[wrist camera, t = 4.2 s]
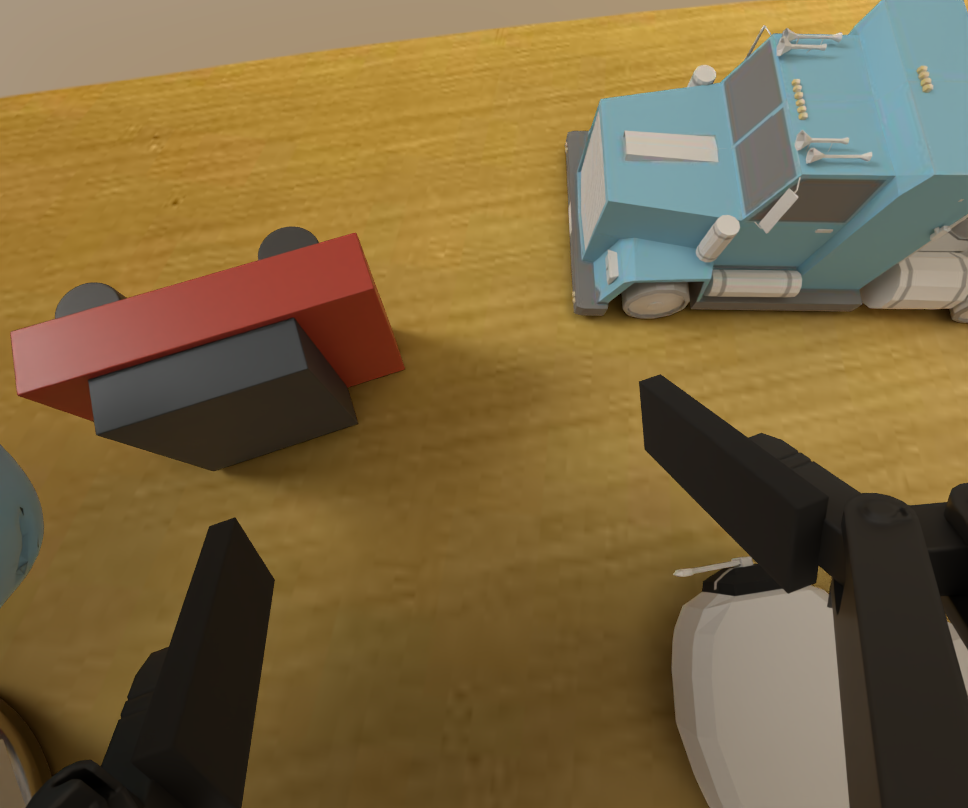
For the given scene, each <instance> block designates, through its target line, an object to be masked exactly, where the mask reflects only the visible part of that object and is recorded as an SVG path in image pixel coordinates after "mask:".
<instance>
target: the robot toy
mask: <svg viewBox="0 0 968 808" xmlns="http://www.w3.org/2000/svg"><path fill="white" fill-rule="evenodd" d="M732 566H733V567H732ZM727 567H728V568H727ZM722 568H723V569H722ZM716 569H721V570H720V571H718V572H717V573H715V574H714V575H712V576H710V577H709V578H707V579H706V580H704V581H703V588H702V592H701V593H700V594H698V595H697V596H695V597H694V598H693V599H691V600H690V601H688V602H687V603H686V604H684V605H683V606H682V609H681V612H680V614H679V617H678V620H677V623H676V625H675V628H674V635H673V642H672V679H673V692H674V705H675V718H676V724H677V727H678V730H679V733H680V736H681V739H682V741H683V744H684V747H685V750H686V753H687V756H688V759H689V762H690V764H691V767H692V770H693V773H694V776H695V778H696V780H697V782H698V785H699V787H700V789H701V791H702V793H703V795H704V797H705V800H706V802H707V804H708V806H709V807H710V808H850V806H849V795H848V783H847V772H846V760H845V748H844V737H843V725H842V713H841V702H840V690H839V679H838V667H837V655H836V644H835V632H834V621H833V609H832V608H829V607H827V604H828V598H829V594H828V593H827V592H826V591H825V590H823V589H820V588H816V587H813V586H810V585H809V586H807V587H804V588H802V589H799V590H797V591H794V592H792V593H789V594H787V593H786V592H785V591H784V590H783V588H782V587H781V586H780V585H779V584H778V583H777V582H776V581H775V580H774V579H773V578H772V577H771V576H770V575H769V574H768V573H767V572H766V571H765V570H764V569H763V568H762V567H761V566H760V565H759V564H753V562H752V558H751V557H739V558H733V559H732V561H730V562H724V563H719V564H713V565H708V566H702V567H697V568H685V569H680V570H676V571H675V573H674V574H673V575H675V576H677V577H685V576H690V575H693V574H695V573H700V572H706V571H711V570H716ZM947 623H948V626H949V630H950V633H951V637H952V641H953V644H954V648H955V651H956V655H957V659H958V662H959V666H960V670H961V673H962V677H963V680H964V684H965V688H966V691H967V695H968V650H967V648H966V646H965V645H964V643H963V641H962V640H961V638H960V637H959V635H958V633H957V632H956V630H955V628H954V627H953V625H952V624H951V623H949V622H947Z"/></svg>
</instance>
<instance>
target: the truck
mask: <svg viewBox="0 0 968 808" xmlns="http://www.w3.org/2000/svg"><path fill="white" fill-rule="evenodd" d="M765 28H766V26H765V25H763V27H762V29H761V31H760V33H759V34H758V36H757V38H756V40H755V42H754V44H753V45H752V47H751V49H750V51H749V53H748V55H747V56H746V58H745V60H744V61H743V62H742V63H741V64H740V65H739V66H738V67H737V68H735V69H734V70H733V71H732V72H731V73H730V74H729V75H728V76H727V77H726V78H724V79H723V80H722V81H721V82H720V83H715V84H713V82H714V80H715V78H716V72H715V70H714V69H713V68H712V67H710V66H708V65H701V66H698V67H697V68H696V70H695V71H694V73H693V75H692V77H691V80H690V82H689V84H688V86H687V87H686V88H679V89H671V90H664V91H657V92H649V93H642V94H634V95H627V96H620V97H612V98H605V99H600V102H599V105H598V108H597V111H596V114H595V117H594V120H593V123H592V126H591V129H590V130H589V131H572V132H568V134H567V139H566V143H565V153H566V164H567V185H568V207H569V208H568V210H569V228H570V247H571V266H572V285H573V293H572V297H573V299H572V300H573V304H574V313H575V314H578V315H598V316H603V315H604V314H605V312H606V311H607V309H608V303H609V302H610V301H611V300H612V299H614V298H615V297H616V296H618V295H619V294H620V293H621V294H622V307H623V310H624V311H625V313H626V314H627V315H629V316H632V317H636V318H639V319H642V318H659V317H664V316H668V315H672V314H674V313H676V312H678V311H680V310H682V309H684V308H685V307H686V305H687V304H688V303H689V301H690V309H714V310H785V311H853V310H854V309H856V308H857V307H859V306H861V305H862V302H863V303H864V304H865V305H866V306H868V307H869V308H876V309H949V310H950V314H951V318H952V320H955V321H957V322H959V323H968V12H967V9H966V6H965V3H964V0H881V1H880V2H879V3H878V4H877V5H876V6H875V7H874V8H873V9H872V10H871V11H870V12H869V13H868V14H867V15H866V16H865V17H864V18H863V19H862V20H861V21H860V22H859V23H858V24H857V25H855V26H854V28H853V29H852V30H851V32H850V33H849V34H848V35H842V32H840V33H837V34H835V35H824V34H796V33H794V32H792V31H791V30H789V29H788V28H786V29H785V30H784V31H783V33H782V34H773V35H771V33H770V32H769V30H768V29H767V28H766V30H767V31H768V32H769V34H770V35H771V36H770V37H769V38H768V39H767V40H766V41H765V42H764V43H763V44H762V45H761V46H760V47H758V48H757V49H756V50H755V51H754V52H753V53H752V54H751V52H752V51H753V49H754V47H755V45H756V43H757V41H758V40H759V38H760V36H761V34H762V32H763V30H764V29H765ZM750 54H751V55H750ZM688 285H689V287H688Z"/></svg>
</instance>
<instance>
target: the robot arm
mask: <svg viewBox="0 0 968 808" xmlns="http://www.w3.org/2000/svg"><path fill="white" fill-rule="evenodd" d="M639 387H640V399H641V411H642V423H643V435H644V447H645V450H646V451H647V452H648V453H649V454H650V455H651V456H652V457H653V458H654V459H655V460H656V461H657V462H658V463H659V464H660V465H661V466H662V467H663V468H664V469H665V470H666V471H667V472H668V473H669V474H670V475H671V476H672V477H673V478H674V479H675V480H676V482H677V483H678V484H679V485H680V486H681V487H682V488H683V489H684V490H685V491H686V492H687V493H688V494H689V495H690V496H691V497H692V498H693V499H694V500H695V501H696V502H697V503H698V504H699V505H700V506H701V507H702V508H703V509H704V510H705V511H706V512H707V513H708V514H709V515H710V516H711V517H712V518H713V519H714V520H715V521H716V522H717V523H718V524H719V525H720V526H721V527H722V528H723V529H724V530H725V531H726V532H727V533H728V534H729V535H730V536H731V537H732V538H733V539H734V540H735V541H736V542H737V543H738V544H739V545H740V546H741V547H742V548H743V549H744V550H745V551H746V552H747V553H748V554H749V555H750V556H751V557H752V558H753V559H754V560H755V561H756V562H757V563H758V564H759V565H760V566H761V567H762V568H763V569H764V570H765V571H766V572H767V573H768V574H769V575H770V576H771V577H772V578H773V579H774V580H775V581H776V582H777V583H778V584H779V585H780V586H781V587H782V588H783V590H784V591H785V592H786V593H787V594H789V593H792V592H794V591H797V590H799V589H802V588H804V587H807V586H809V585H812V584H814V583H816V580H817V573H818V566H820V567H821V568H822V569H824V570H825V571H826V572H827V573H828V574H829V575H830V576H832V580H831V586H830V592H829V598H828V604H827V607H829V608H832V609H833V621H834V632H835V644H836V655H837V667H838V679H839V690H840V702H841V713H842V725H843V737H844V748H845V760H846V772H847V783H848V795H849V806H850V808H968V695H967V691H966V688H965V684H964V680H963V677H962V673H961V670H960V666H959V662H958V659H957V655H956V651H955V648H954V644H953V641H952V637H951V633H950V630H949V626H948V623H947V619H946V615H947V617H948V619H949V620H950V622H951V624H952V625H953V627H954V628H955V630H956V632H957V633H958V635H959V637H960V638H961V640H962V641H963V643H964V645H965V646H966V648H967V650H968V483H964V484H959V485H958V486H956V487H954V488H952V490H951V493H950V495H949V499H948V502H944V503H932V504H921V505H907V504H906V503H904V502H903V501H901V500H898V499H896V498H894V497H891V496H888V495H883V494H878V493H860V492H858V491H857V490H855V489H854V488H852V487H851V486H849V485H848V484H846V483H845V482H843V481H842V480H840V479H839V478H838V477H836V476H835V475H833V474H832V473H830V472H829V471H827V470H826V469H824V468H823V467H821V466H820V465H818V464H817V463H815V462H814V461H813V462H811V460H810V459H809V458H808V457H806V456H805V455H803V454H802V453H798V450H796V449H795V448H793V447H792V446H790V445H789V444H787V443H786V442H784V441H783V440H781V439H778V438H775V437H772V436H769V435H766V434H763V433H760V434H757V435H755V436H752V437H749V438H747V437H746V436H745V435H743V434H742V433H741V432H739V431H738V430H736V429H735V428H734V427H732V426H731V425H730V424H728V423H727V422H725V421H724V420H723V419H721V418H720V417H719V416H717V415H716V414H714V413H713V412H712V411H710V410H709V409H708V408H706V407H705V406H703V405H702V404H701V403H699V402H698V401H697V400H695V399H694V398H692V397H691V396H690V395H688V394H687V393H686V392H684V391H683V390H681V389H680V388H679V387H677V386H676V385H674V384H673V383H672V382H670V381H669V380H668V379H666V378H665V377H663V376H662V375H661V374H660V375H657V376H654V377H651V378H648V379H645V380H642V381H639ZM43 534H44V521H43V513H42V508H41V504H40V501H39V498H38V496H37V493H36V491H35V489H34V487H33V485H32V484H31V482H30V480H29V479H28V477H27V476H26V474H25V473H24V471H23V470H22V469H21V467H20V466H19V465H18V464H17V462H16V461H15V460H14V459H13V457H12V456H11V455H10V454H9V453H8V452H7V451H6V450H5V449H4V448H3V447H2V446H1V445H0V608H1V607H2V605H3V604H4V603H5V602H6V600H7V599H8V598H9V597H10V596H11V594H12V593H13V592H14V591H15V590H16V588H17V587H18V586H19V585H20V583H21V582H22V581H23V580H24V578H25V577H26V576H27V574H28V573H29V571H30V569H31V568H32V566H33V564H34V562H35V560H36V558H37V556H38V554H39V551H40V548H41V544H42V540H43ZM274 581H275V579H274V578H273V576H272V575H271V573H270V572H269V570H268V568H267V567H266V565H265V564H264V562H263V561H262V559H261V557H260V556H259V554H258V553H257V551H256V549H255V548H254V546H253V545H252V543H251V542H250V540H249V538H248V537H247V535H246V534H245V532H244V530H243V529H242V527H241V526H240V524H239V523H238V521H237V519H236V518H232V519H229V520H226V521H223V522H220V523H218V524H215V525H212V526H209V529H208V532H207V535H206V538H205V541H204V544H203V547H202V550H201V553H200V556H199V559H198V562H197V565H196V568H195V571H194V574H193V577H192V580H191V583H190V586H189V589H188V591H187V594H186V597H185V600H184V603H183V606H182V609H181V612H180V615H179V618H178V621H177V624H176V627H175V630H174V633H173V636H172V639H171V642H170V645H169V647H167V648H164V649H162V650H159V651H156V652H153V653H151V654H150V656H149V657H148V659H147V660H146V661H145V663H144V664H143V666H142V667H141V668H140V670H139V671H138V673H137V674H136V676H135V678H134V681H133V683H132V686H131V689H130V691H129V694H128V697H127V698H128V701H126V702H125V704H124V707H123V710H122V712H121V719H120V720H118V723H117V726H116V728H115V731H114V733H113V736H112V739H111V741H110V744H109V747H108V749H107V752H106V754H105V757H104V760H103V762H102V765H101V766H99V765H98V764H97V763H95V762H93V761H92V760H83V761H77V762H75V763H73V764H71V765H69V766H67V767H65V768H63V769H62V770H60V771H59V772H58V773H56V774H55V775H54V776H53V777H52V776H51V773H50V769H49V766H48V763H47V761H46V758H45V755H44V753H43V751H42V749H41V747H40V745H39V743H38V741H37V739H36V737H35V736H34V734H33V733H32V731H31V730H30V728H29V727H28V725H27V724H26V723H25V721H24V720H23V719H22V718H21V717H20V716H19V715H18V713H17V712H16V711H15V710H14V709H12V708H11V707H10V706H9V705H8V704H7V703H6V702H5V701H3V700H2V699H0V808H241V807H242V800H243V793H244V786H245V779H246V773H247V766H248V759H249V752H250V745H251V739H252V732H253V725H254V718H255V711H256V704H257V698H258V691H259V684H260V677H261V670H262V663H263V657H264V650H265V643H266V636H267V629H268V622H269V616H270V609H271V602H272V595H273V588H274ZM945 614H946V615H945Z"/></svg>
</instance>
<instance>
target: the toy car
mask: <svg viewBox="0 0 968 808" xmlns="http://www.w3.org/2000/svg"><path fill="white" fill-rule="evenodd" d="M10 334H11V343H12V352H13V361H14V370H15V379H16V388H17V395H18V396H20V397H23V398H26V399H29V400H32V401H35V402H38V403H41V404H44V405H47V406H50V407H53V408H55V409H58V410H61V411H64V412H67V413H70V414H73V415H76V416H79V417H82V418H85V419H88V420H90V421H93V422H94V424H95V430H96V435H98V436H101V437H104V438H107V439H111V440H114V441H117V442H120V443H124V444H127V445H130V446H133V447H137V448H140V449H143V450H146V451H150V452H153V453H156V454H159V455H162V456H166V457H169V458H172V459H175V460H179V461H182V462H185V463H188V464H192V465H195V466H198V467H201V468H204V469H208V470H211V471H216V470H219V469H222V468H225V467H228V466H231V465H234V464H237V463H240V462H243V461H246V460H249V459H252V458H255V457H258V456H261V455H264V454H267V453H270V452H273V451H276V450H279V449H282V448H285V447H288V446H292V445H295V444H298V443H301V442H304V441H307V440H310V439H313V438H316V437H319V436H322V435H325V434H328V433H331V432H334V431H337V430H340V429H343V428H346V427H349V426H352V425H355V424H358V422H357V418H356V415H355V411H354V408H353V405H352V401H351V398H350V394H349V391H348V387H351V386H354V385H357V384H360V383H364V382H367V381H370V380H373V379H376V378H379V377H382V376H385V375H389V374H392V373H395V372H398V371H401V370H404V369H405V367H404V364H403V361H402V358H401V355H400V352H399V349H398V346H397V343H396V340H395V337H394V334H393V331H392V328H391V325H390V322H389V320H388V317H387V314H386V312H385V309H384V306H383V304H382V301H381V298H380V295H379V293H378V290H377V287H376V285H375V282H374V279H373V277H372V274H371V271H370V268H369V266H368V263H367V260H366V258H365V255H364V252H363V250H362V247H361V244H360V241H359V239H358V236H357V234H356V233H352V234H349V235H345V236H342V237H338V238H335V239H331V240H328V241H324V242H321V243H319V242H318V240H317V238H316V237H315V236H314V235H313V234H312V233H311V232H309V231H307V230H305V229H303V228H300V227H284V228H280V229H278V230H276V231H274V232H272V233H271V234H269V235H268V236H267V237H266V238H265V239H264V241H263V242H262V244H261V246H260V248H259V252H258V261H255V262H251V263H248V264H244V265H241V266H237V267H234V268H230V269H227V270H223V271H220V272H216V273H213V274H210V275H206V276H203V277H199V278H196V279H192V280H189V281H185V282H182V283H178V284H175V285H171V286H168V287H164V288H161V289H157V290H154V291H150V292H147V293H143V294H140V295H137V296H133V297H130V298H126V297H125V296H123V295H122V294H120V293H119V292H118V291H116V290H115V289H114V288H112V287H110V286H109V285H106V284H102V283H86V284H82V285H80V286H77V287H75V288H74V289H72V290H70V291H69V292H68V293H67V294H66V295H65V296H64V297H63V298H62V299H61V301H60V302H59V304H58V306H57V308H56V312H55V319H53V320H50V321H46V322H43V323H39V324H36V325H32V326H29V327H25V328H22V329H18V330H15V331H11V333H10Z"/></svg>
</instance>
